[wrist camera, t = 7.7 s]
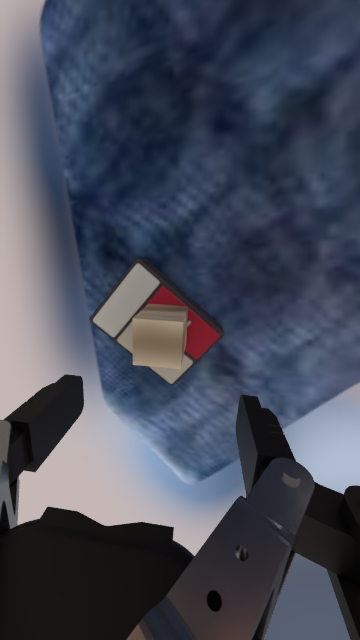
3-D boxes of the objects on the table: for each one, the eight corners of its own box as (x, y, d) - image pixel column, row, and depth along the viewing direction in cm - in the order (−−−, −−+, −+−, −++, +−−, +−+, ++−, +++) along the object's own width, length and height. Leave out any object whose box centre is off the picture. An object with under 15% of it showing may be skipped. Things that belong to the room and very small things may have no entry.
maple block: (148, 303, 30) (132, 318, 23) (188, 306, 29) (183, 322, 22) (148, 340, 31) (132, 364, 24) (186, 343, 31) (180, 369, 24)
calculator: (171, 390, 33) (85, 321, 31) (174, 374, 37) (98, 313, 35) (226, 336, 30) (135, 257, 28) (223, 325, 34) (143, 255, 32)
